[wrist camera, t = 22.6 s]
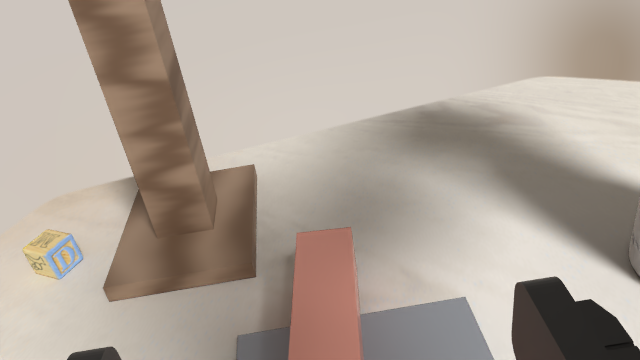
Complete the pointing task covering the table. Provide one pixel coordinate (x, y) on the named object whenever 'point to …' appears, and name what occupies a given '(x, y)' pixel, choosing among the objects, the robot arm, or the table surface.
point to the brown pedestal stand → (165, 161)
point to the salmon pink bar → (325, 298)
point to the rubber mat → (394, 335)
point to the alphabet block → (53, 254)
